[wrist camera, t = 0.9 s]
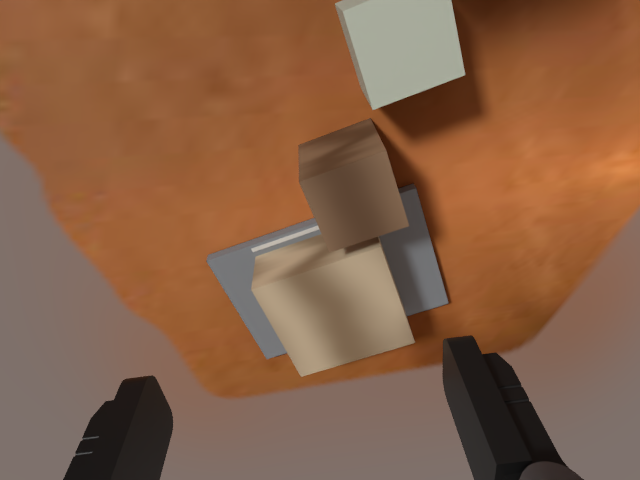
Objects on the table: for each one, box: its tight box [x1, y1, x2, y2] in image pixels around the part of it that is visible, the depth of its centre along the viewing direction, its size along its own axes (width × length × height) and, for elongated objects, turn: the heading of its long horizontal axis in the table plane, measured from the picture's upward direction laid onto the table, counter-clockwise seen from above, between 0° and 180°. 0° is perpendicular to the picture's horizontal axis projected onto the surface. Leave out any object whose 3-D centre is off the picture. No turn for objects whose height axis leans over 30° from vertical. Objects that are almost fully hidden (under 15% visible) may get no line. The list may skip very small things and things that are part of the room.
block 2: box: [298, 118, 409, 252], centre depth 28 cm, size 5×5×6 cm
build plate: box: [207, 183, 448, 359], centre depth 35 cm, size 16×11×1 cm
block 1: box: [335, 0, 465, 110], centre depth 24 cm, size 5×5×5 cm
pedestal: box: [251, 234, 415, 377], centre depth 33 cm, size 9×9×4 cm
